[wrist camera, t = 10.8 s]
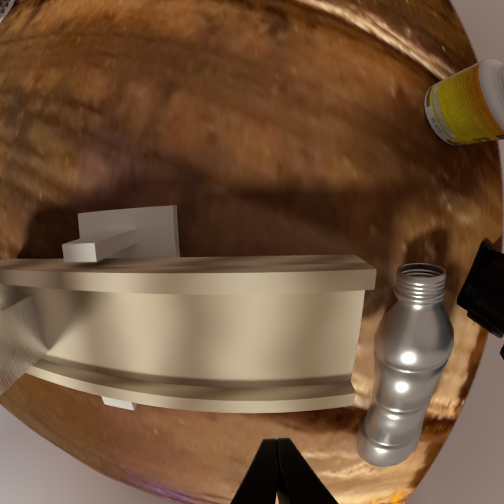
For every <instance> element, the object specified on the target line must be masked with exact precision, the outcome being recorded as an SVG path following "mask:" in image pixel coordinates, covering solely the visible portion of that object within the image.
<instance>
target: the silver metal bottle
mask: <svg viewBox="0 0 504 504" xmlns="http://www.w3.org/2000/svg"><path fill="white" fill-rule="evenodd" d="M445 282H446V270H445V269H444V268H443V267H441V266H438V265H434V264H429V263H409V264H404V265H401V266H399V267H398V268H397V273H396V286H395V292H394V293H395V296H396V297H397V298H398V301H397V302H396V303H395V304H394V305H393V306H392V307H391V309H390V310H389V311H388V312H387V313H386V315H385V316H384V317H383V319H382V320H381V321H380V323H379V326H378V328H377V330H376V333H375V336H374V360H375V378H374V387H373V394H372V400H371V403H370V406H369V409H368V412H367V414H366V417H365V419H364V420H363V422H362V424H361V426H360V428H359V431H358V433H357V437H356V444H357V451H358V454H359V455H360V457H361V458H362V459H363V460H364V461H366V462H367V463H369V464H371V465H374V466H378V467H387V466H393V465H396V464H399V463H401V462H403V461H404V460H405V459H407V458H408V457H409V456H410V454H411V453H412V452H413V451H414V450H415V448H416V447H417V445H418V442H419V439H420V435H421V430H422V424H423V420H424V417H425V413H426V410H427V406H428V404H429V401H430V399H431V397H432V394H433V392H434V389H435V387H436V384H437V382H438V380H439V378H440V376H441V374H442V372H443V370H444V368H445V366H446V363H447V361H448V358H449V357H450V354H451V351H452V348H453V345H454V331H453V326H452V324H451V321H450V319H449V316H448V314H447V313H446V311H445V309H444V307H443V306H442V304H441V301H443V300H444V299H445V296H446V289H445Z"/></svg>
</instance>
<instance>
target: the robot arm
mask: <svg viewBox="0 0 504 504" xmlns="http://www.w3.org/2000/svg"><path fill="white" fill-rule="evenodd" d="M461 301H462V302H461ZM457 304H458V305H459V306H460V307H462V308H464V309H465V310H467V311H468V313H467V317H469V318H470V319H472V320H473V321H475V322H476V323H477V324H479V325H480V326H482V327H483V328H484V329H486V330H487V331H489V332H490V333H492V334H494V335H495V336H497V337H499V338H502V337H503V335H504V254H503V253H500V252H497V251H496V250H495V249H494V248H492V247H491V246H490V245H489V244H488V243H486V242H483V243H482V244H481V247H480V249H479V252H478V254H477V257H476V259H475V262H474V264H473V267H472V269H471V271H470V274H469V276H468V278H467V280H466V283H465V285H464V287H463V289H462V291H461V293H460V295H459V297H458V299H457ZM500 355H501V356H502V358H503V359H504V345H503V347H502V348H501V351H500ZM276 494H277V496H278V502H279V504H338V502H337V501H336V500H335V499H334V497H333V496H332V495H331V493H330V492H329V491H328V490H327V488H326V487H325V486H324V485H323V483H322V482H321V481H320V479H319V478H318V477H317V475H316V474H315V473H314V471H313V470H312V469H311V467H310V466H309V465H308V463H307V462H306V460H305V459H304V458H303V456H302V455H301V453H300V452H299V451H298V449H297V448H296V446H295V445H294V444H293V442H292V441H291V439H290V438H278V439H277V440H276V439H274V438H272V439H263V441H262V443H261V445H260V447H259V449H258V451H257V453H256V455H255V457H254V459H253V461H252V463H251V465H250V467H249V469H248V471H247V473H246V475H245V477H244V479H243V481H242V483H241V485H240V487H239V489H238V490H237V492H236V494H235V496H234V498H233V500H232V501H231V503H230V504H275V502H276Z"/></svg>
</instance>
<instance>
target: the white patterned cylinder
mask: <svg viewBox="0 0 504 504" xmlns="http://www.w3.org/2000/svg"><path fill="white" fill-rule="evenodd" d="M14 1H15V0H0V24H1V23H2V21H3V20H4V19H5V17H6V16H7V14H8V13H9V11H10V9H11V8H12V6H13V4H14Z"/></svg>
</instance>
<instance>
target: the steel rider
mask: <svg viewBox="0 0 504 504" xmlns="http://www.w3.org/2000/svg"><path fill="white" fill-rule="evenodd" d="M47 352H49V349H48V346H47V343H46V340H45V337H44V333H43V330H42V327H41V324H40V320H39V317H38V313H37V309H36V305H35V301H34V297H33V294H26V293H18V292H11V291H4V290H0V395H1V394H3V393H4V392H5V391H6V390H7V389H8V388H9V387H10V386H11V385H12V384H13V383H14V382H15V381H16V380H17V379H18V378H20V377H21V376H22V375H23V374H24V373H25V372H26V371H27V370H28V369H29V368H30V367H32V366H33V365H34V364H35V363H36V362H37V361H38V360H39V359H41V358H42V357H43V356H44V355H45V354H46V353H47Z"/></svg>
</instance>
